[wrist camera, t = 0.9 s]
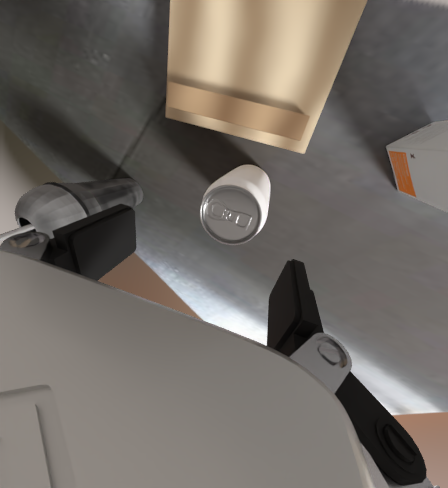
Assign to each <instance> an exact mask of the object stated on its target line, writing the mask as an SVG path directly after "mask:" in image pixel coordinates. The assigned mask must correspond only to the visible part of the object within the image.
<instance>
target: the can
mask: <svg viewBox="0 0 448 488" xmlns="http://www.w3.org/2000/svg"><path fill="white" fill-rule="evenodd" d="M269 199H270V181H269V178H268V176H267V174H266V173H265V172H264V171H263V170H262V169H261V168H259V167H257V166H254V165H242V166H239V167H237V168H235V169H233V170H232V171H230V172H229V173H227V174H226V175H224V176H223V177H221V178H219V179H218V180H217V181H215V182H214V183H213V184H212V185H211V186H210V187H209V188H208V189H207V191H206V192H205V194H204V197H203V200H202V203H201V207H200V219H201V222H202V225H203V227H204V229H205V230H206V232H207V233H208V234H209V235H210V236H211V237H212V238H213V239H215V240H216V241H218V242H220V243H223V244H227V245H239V244H243V243H245V242H247V241H249V240H251V239H252V238H253V237H254V236H255V235H256V234H257V233H258V232H259V231H260V230H261V229H262V227H263V226H264V224H265V221H266V218H267V214H268V207H269Z"/></svg>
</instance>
